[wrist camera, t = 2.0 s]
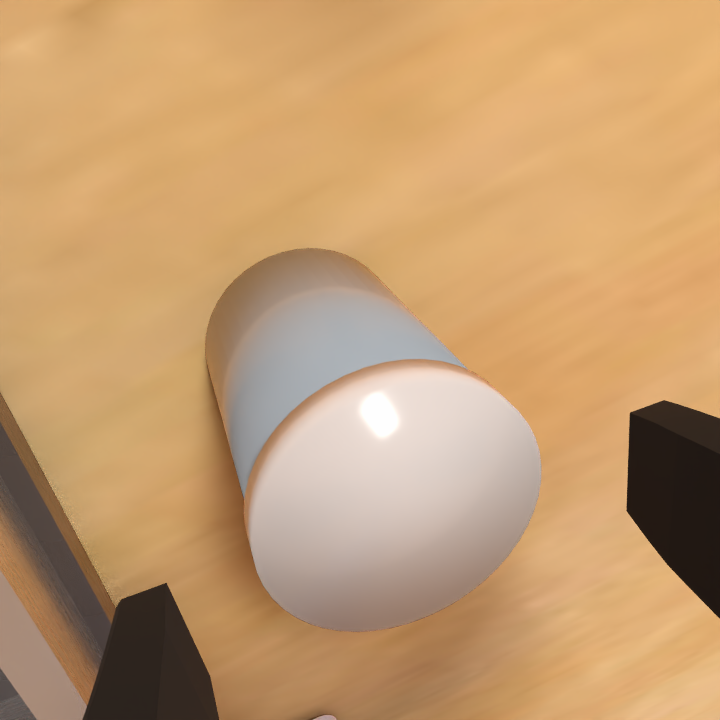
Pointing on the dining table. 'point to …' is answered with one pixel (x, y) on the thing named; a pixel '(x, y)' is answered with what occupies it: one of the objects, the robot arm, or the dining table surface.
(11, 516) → the pusher lane
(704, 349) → the dining table surface
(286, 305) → the jar
